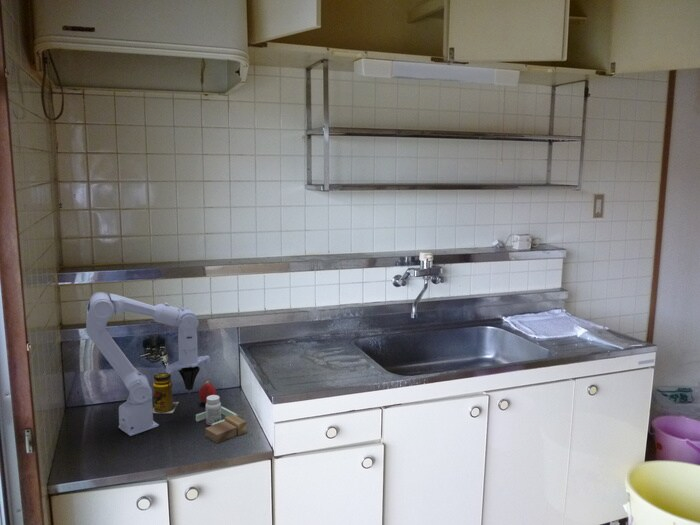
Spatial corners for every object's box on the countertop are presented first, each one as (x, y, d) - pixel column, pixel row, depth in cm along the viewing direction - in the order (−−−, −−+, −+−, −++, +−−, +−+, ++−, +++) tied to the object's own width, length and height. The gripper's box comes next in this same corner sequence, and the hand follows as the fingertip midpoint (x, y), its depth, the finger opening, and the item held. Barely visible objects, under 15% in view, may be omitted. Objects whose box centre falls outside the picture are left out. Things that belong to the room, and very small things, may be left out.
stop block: (238, 435, 179) (238, 424, 178) (224, 427, 183) (224, 417, 183) (246, 432, 181) (246, 421, 180) (232, 424, 186) (232, 414, 185)
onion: (212, 408, 197) (211, 385, 195) (196, 406, 198) (195, 383, 196) (219, 401, 202) (218, 379, 201) (203, 399, 204) (203, 377, 202)
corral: (213, 430, 181) (212, 424, 181) (195, 420, 188) (195, 414, 187) (238, 421, 188) (238, 415, 188) (221, 411, 195) (221, 405, 194)
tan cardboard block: (217, 444, 174) (217, 434, 173) (205, 437, 178) (205, 428, 177) (236, 436, 179) (236, 427, 178) (224, 429, 183) (224, 420, 182)
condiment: (149, 413, 192) (148, 378, 190) (157, 402, 200) (156, 369, 198) (172, 413, 192) (171, 378, 190) (179, 402, 201) (178, 369, 198)
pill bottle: (207, 418, 189) (206, 394, 188) (222, 418, 189) (222, 394, 188) (204, 425, 184) (203, 400, 183) (219, 425, 185) (219, 400, 183)
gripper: (173, 356, 177) (174, 399, 180) (215, 346, 187) (215, 386, 190) (161, 350, 182) (163, 392, 184) (202, 340, 192) (203, 380, 195)
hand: (189, 388), depth 188 cm, fingers closed
